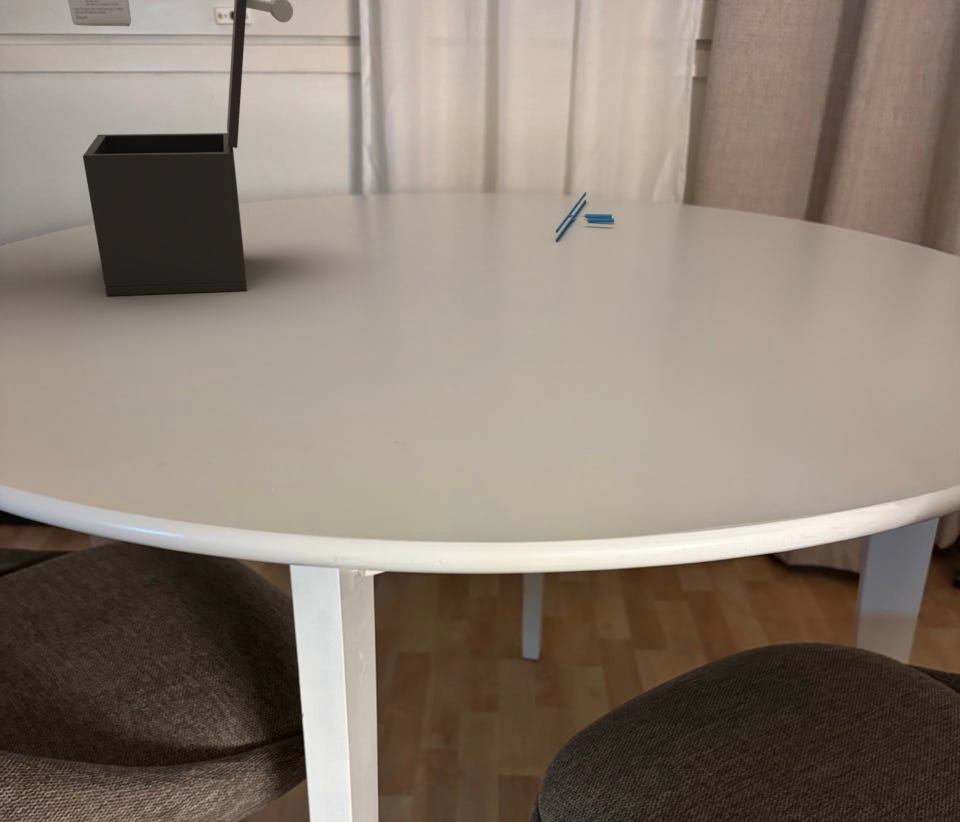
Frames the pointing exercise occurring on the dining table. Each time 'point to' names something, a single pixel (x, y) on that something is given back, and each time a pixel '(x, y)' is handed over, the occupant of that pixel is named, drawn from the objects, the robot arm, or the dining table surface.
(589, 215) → the chopsticks
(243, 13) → the lid
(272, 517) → the dining table surface
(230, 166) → the box
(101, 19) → the medicine box
